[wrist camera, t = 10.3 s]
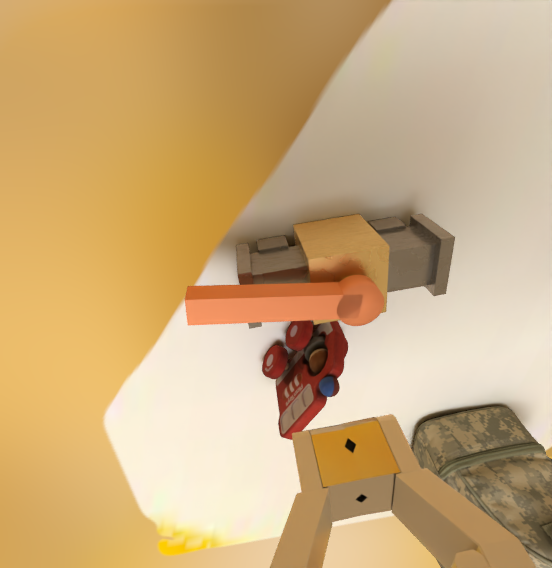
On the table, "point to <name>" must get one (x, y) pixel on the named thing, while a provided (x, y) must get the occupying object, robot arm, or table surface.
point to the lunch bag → (494, 471)
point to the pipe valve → (353, 255)
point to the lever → (285, 302)
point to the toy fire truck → (306, 372)
